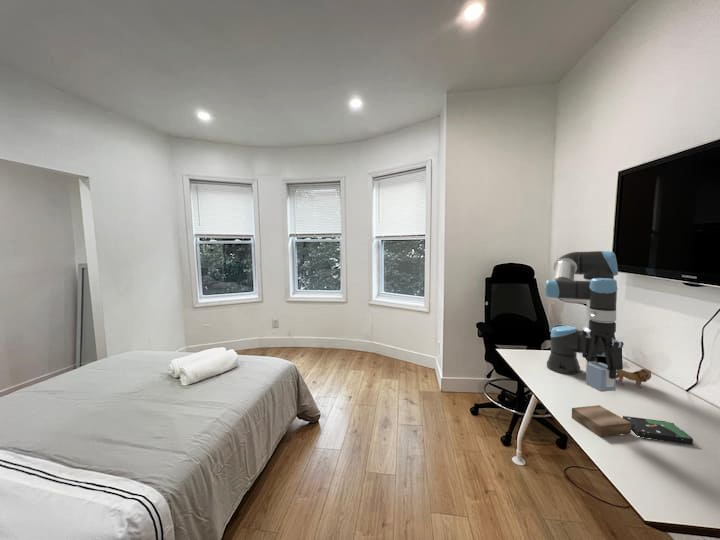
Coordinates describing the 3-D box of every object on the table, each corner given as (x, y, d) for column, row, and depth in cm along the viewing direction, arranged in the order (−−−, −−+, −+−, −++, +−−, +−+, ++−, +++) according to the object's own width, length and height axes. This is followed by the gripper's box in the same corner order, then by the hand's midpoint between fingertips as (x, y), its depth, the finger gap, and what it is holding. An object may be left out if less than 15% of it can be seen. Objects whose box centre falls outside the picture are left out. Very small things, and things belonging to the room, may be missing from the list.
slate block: (585, 384, 109) (586, 363, 109) (600, 383, 110) (600, 362, 109) (600, 391, 103) (601, 369, 103) (615, 390, 104) (616, 368, 103)
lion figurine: (649, 386, 136) (649, 367, 136) (652, 391, 132) (653, 371, 131) (608, 379, 144) (609, 362, 144) (610, 383, 140) (611, 365, 139)
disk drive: (638, 439, 100) (694, 446, 96) (638, 431, 100) (694, 438, 95) (621, 422, 110) (671, 428, 105) (621, 415, 110) (672, 421, 105)
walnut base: (571, 417, 113) (571, 407, 112) (599, 415, 114) (599, 405, 114) (600, 437, 101) (600, 426, 101) (630, 433, 102) (631, 423, 102)
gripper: (571, 315, 114) (570, 372, 115) (619, 327, 95) (617, 395, 97) (588, 314, 115) (586, 371, 116) (639, 326, 96) (637, 393, 97)
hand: (600, 382), depth 106 cm, fingers closed on slate block, 6 cm apart
